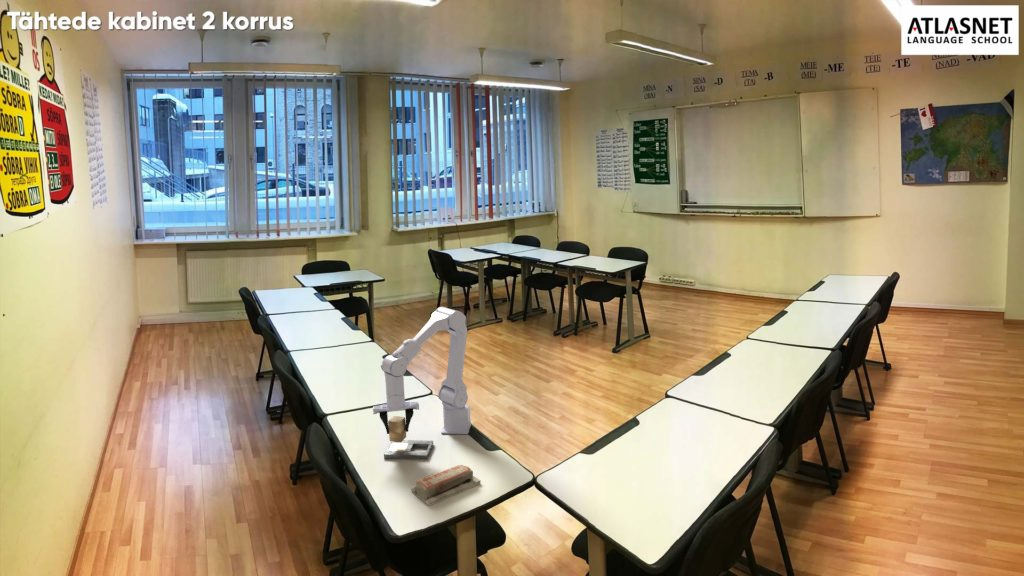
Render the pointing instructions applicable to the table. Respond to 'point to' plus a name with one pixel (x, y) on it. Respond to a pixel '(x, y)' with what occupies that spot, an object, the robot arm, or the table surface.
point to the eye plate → (408, 450)
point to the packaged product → (445, 484)
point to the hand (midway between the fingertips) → (397, 431)
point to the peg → (397, 429)
